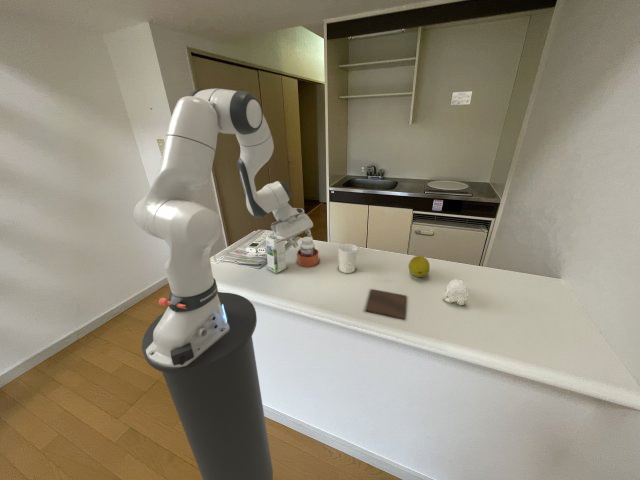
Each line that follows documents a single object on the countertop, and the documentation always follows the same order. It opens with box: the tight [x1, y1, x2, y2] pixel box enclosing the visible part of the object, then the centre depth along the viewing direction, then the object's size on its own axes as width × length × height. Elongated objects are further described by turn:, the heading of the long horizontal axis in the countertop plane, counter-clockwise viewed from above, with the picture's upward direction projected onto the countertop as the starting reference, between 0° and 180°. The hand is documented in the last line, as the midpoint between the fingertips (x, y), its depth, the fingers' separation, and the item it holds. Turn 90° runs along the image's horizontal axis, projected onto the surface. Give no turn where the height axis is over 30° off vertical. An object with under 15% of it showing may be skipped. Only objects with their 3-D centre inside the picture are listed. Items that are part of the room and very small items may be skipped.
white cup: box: [337, 243, 359, 274], centre depth 105 cm, size 8×8×10 cm
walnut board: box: [365, 288, 407, 320], centre depth 87 cm, size 12×12×1 cm
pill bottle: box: [299, 236, 316, 257], centre depth 112 cm, size 6×6×11 cm
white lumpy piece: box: [444, 278, 470, 306], centre depth 88 cm, size 6×8×12 cm
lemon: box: [408, 255, 431, 278], centre depth 101 cm, size 11×8×8 cm
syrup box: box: [265, 234, 287, 274], centre depth 105 cm, size 6×6×14 cm
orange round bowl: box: [296, 248, 320, 268], centre depth 113 cm, size 9×10×4 cm
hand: (304, 242), depth 111 cm, fingers open, 8 cm apart
